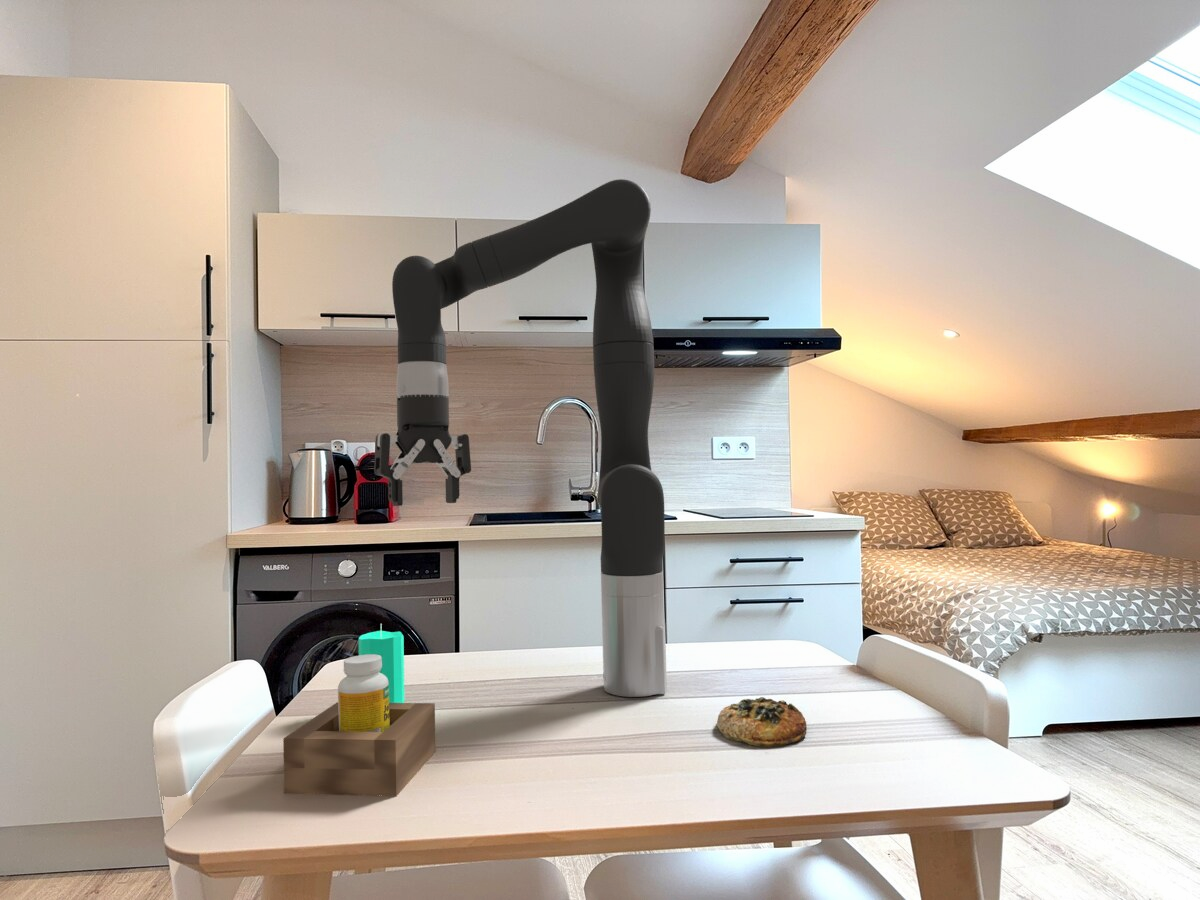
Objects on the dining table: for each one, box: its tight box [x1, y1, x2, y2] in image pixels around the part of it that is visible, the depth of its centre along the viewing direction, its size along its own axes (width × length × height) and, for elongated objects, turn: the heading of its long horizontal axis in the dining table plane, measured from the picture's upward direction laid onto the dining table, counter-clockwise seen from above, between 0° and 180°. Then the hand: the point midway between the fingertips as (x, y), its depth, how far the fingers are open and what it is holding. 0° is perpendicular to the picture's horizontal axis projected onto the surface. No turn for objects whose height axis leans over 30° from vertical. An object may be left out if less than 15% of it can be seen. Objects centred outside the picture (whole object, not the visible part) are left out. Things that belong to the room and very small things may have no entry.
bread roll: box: [716, 696, 808, 748], centre depth 92 cm, size 11×11×5 cm
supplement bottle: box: [337, 654, 390, 732], centre depth 82 cm, size 5×5×10 cm
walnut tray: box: [282, 701, 437, 797], centre depth 82 cm, size 12×12×6 cm
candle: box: [357, 623, 406, 703], centre depth 103 cm, size 6×6×12 cm
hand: (424, 504), depth 110 cm, fingers open, 8 cm apart
